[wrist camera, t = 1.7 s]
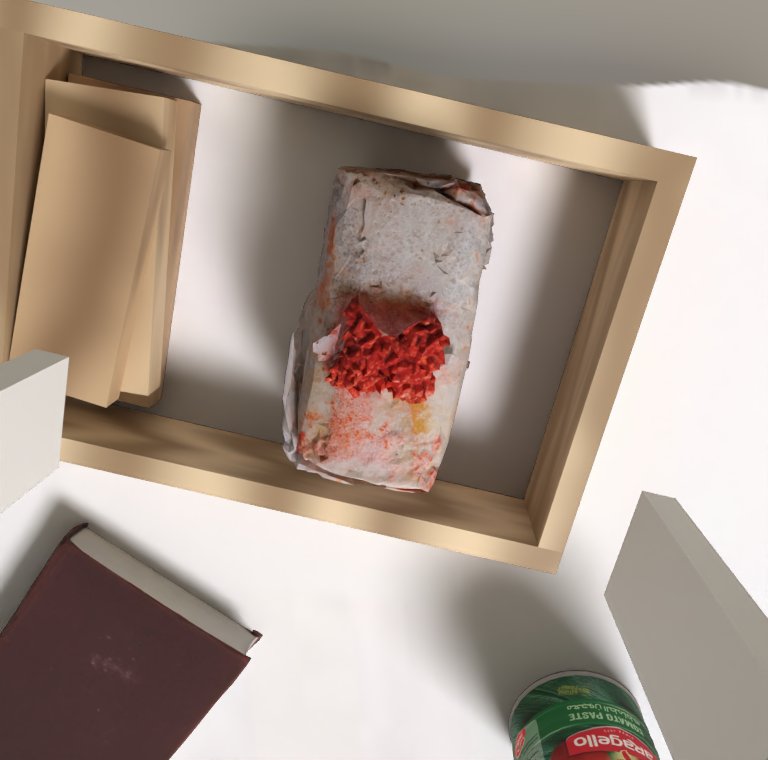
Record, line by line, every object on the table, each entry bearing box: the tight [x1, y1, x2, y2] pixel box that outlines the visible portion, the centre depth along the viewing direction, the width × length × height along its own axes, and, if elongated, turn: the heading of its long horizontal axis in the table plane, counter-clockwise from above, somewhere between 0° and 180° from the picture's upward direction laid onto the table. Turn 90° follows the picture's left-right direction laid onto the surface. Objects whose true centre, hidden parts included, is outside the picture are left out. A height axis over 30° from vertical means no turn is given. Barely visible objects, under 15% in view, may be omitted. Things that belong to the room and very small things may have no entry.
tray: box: [0, 0, 697, 574], centre depth 33 cm, size 28×19×5 cm
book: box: [0, 523, 263, 760], centre depth 42 cm, size 12×19×3 cm, turn 144°
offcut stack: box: [9, 73, 201, 408], centre depth 33 cm, size 6×15×5 cm, turn 167°
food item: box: [281, 167, 494, 493], centre depth 30 cm, size 14×8×10 cm, turn 171°
